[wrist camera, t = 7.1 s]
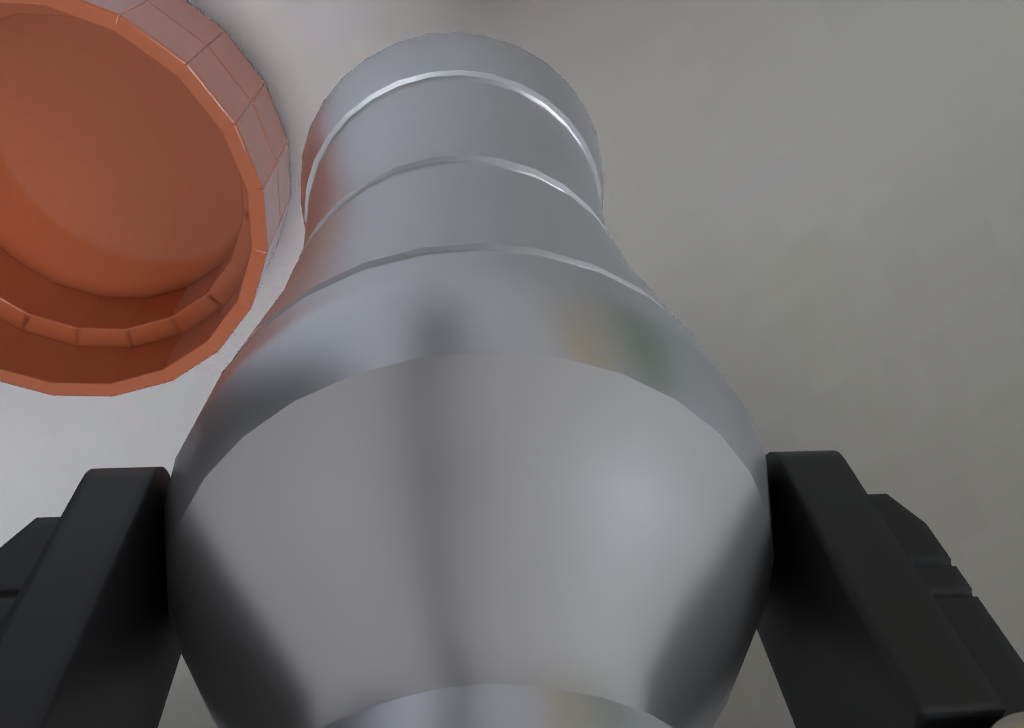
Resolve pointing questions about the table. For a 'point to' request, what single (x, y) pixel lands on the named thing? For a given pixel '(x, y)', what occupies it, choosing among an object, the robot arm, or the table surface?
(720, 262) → the table surface
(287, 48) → the table surface
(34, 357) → the bowl
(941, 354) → the table surface
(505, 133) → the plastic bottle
